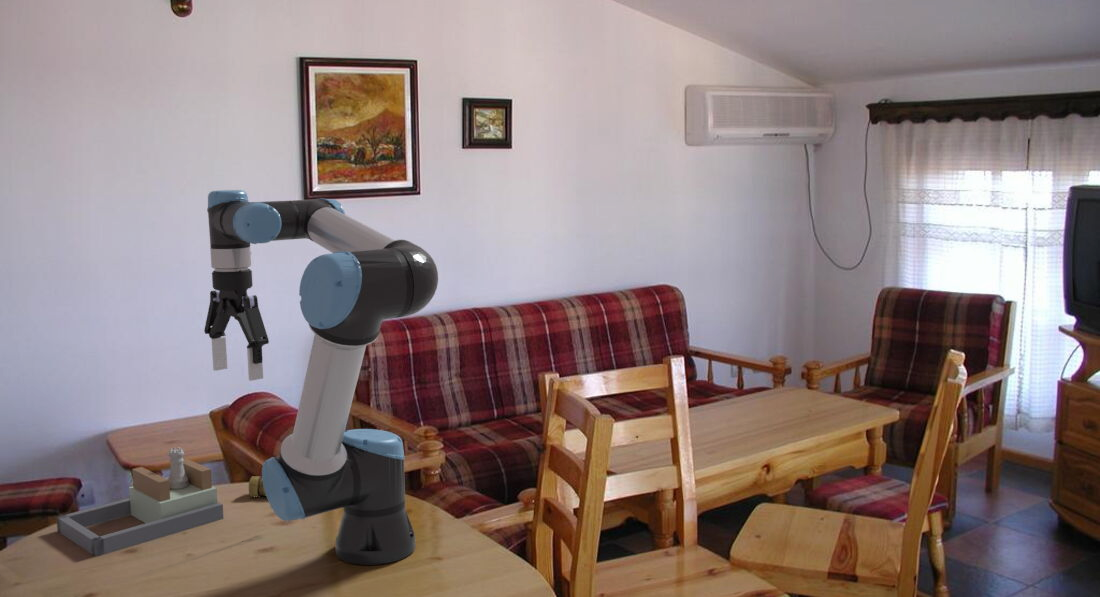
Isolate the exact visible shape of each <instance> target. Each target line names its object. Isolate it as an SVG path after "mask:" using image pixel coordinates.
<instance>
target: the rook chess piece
mask: <svg viewBox="0 0 1100 597" xmlns="http://www.w3.org/2000/svg"><path fill="white" fill-rule="evenodd" d="M184 455H185V452H184V450H183V448H182V447H179V446H178V447H177V449H176V447H172V448H169V452H168V453H167V456H168V457H169V458H170V460H169V463H170V470H169V471H170V472H169V475H168V477H169V478H168V480H169V488H170V489H174V490H176V489H183V488H186V487H187V486H188V485H189V482H188V480H189V478H188V476H187V475H186V473H185V471H184V466H183V461H184V459H183V458H182V457H184Z"/></svg>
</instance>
